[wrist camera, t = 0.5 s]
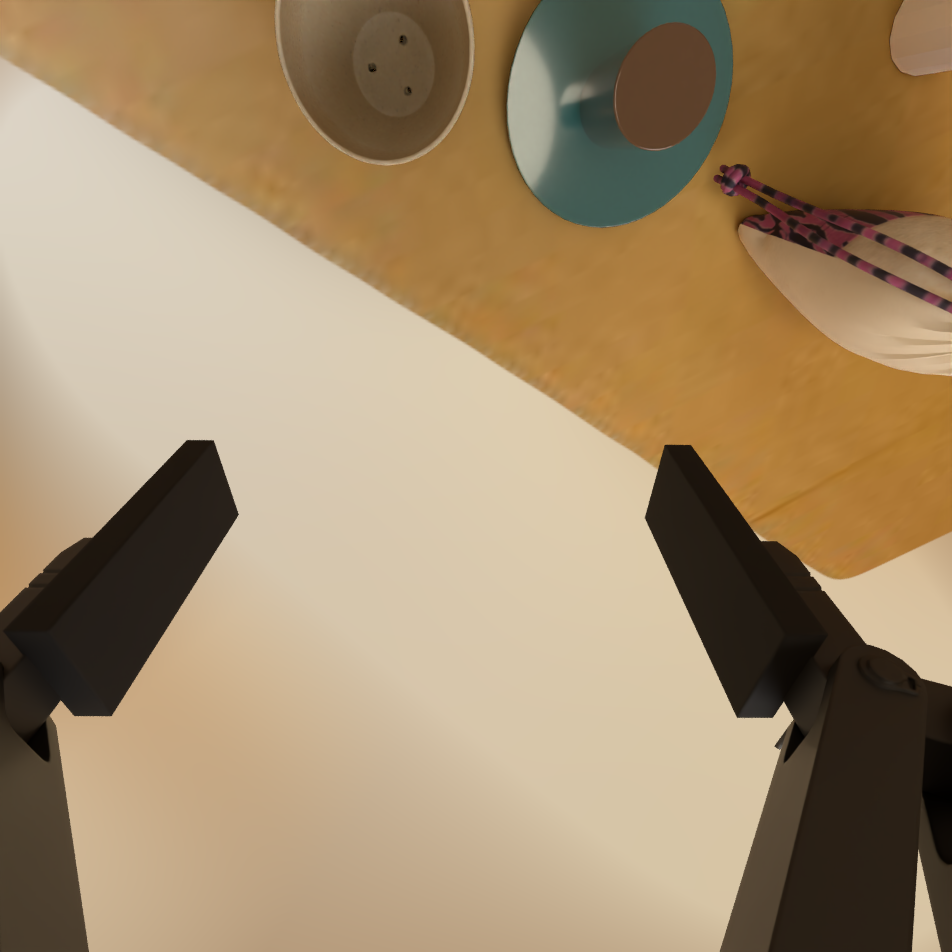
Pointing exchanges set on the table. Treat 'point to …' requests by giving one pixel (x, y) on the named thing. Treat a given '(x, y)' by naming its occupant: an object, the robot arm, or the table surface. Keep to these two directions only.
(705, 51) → the lid
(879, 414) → the table surface
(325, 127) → the flower pot
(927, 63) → the capsule
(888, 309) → the pouch
